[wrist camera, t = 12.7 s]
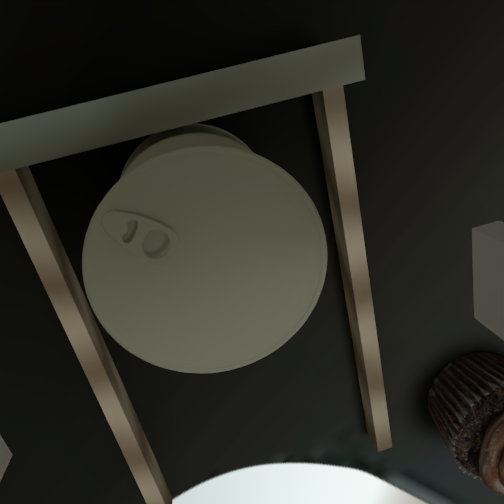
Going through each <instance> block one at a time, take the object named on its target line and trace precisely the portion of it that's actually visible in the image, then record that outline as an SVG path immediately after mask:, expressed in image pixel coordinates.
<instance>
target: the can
mask: <svg viewBox="0 0 504 504" xmlns="http://www.w3.org/2000/svg"><path fill="white" fill-rule="evenodd" d="M326 269H327V243H326V236H325V232H324V228H323V224H322V221H321V218H320V216H319V214H318V211H317V209H316V207H315V205H314V203H313V202H312V200H311V198H310V197H309V195H308V194H307V193H306V191H305V190H304V189H303V187H302V186H301V185H300V184H299V183H298V182H297V181H296V180H295V179H294V178H293V177H292V176H291V175H290V174H288V173H287V172H286V171H285V170H284V169H282V168H281V167H279V166H278V165H276V164H275V163H273V162H271V161H269V160H268V159H266V158H264V157H262V156H259V155H257V154H255V153H253V152H252V151H251V150H250V149H249V147H248V146H247V145H246V144H245V143H244V142H242V141H241V140H240V139H239V138H237V137H236V136H234V135H233V134H231V133H229V132H227V131H225V130H223V129H220V128H218V127H214V126H211V125H206V124H197V123H193V124H189V125H185V126H181V127H177V128H174V129H170V130H166V131H162V132H158V133H155V134H153V135H151V136H150V137H148V138H147V139H146V140H144V141H143V142H142V143H141V144H140V145H139V146H138V147H137V148H136V149H135V150H134V152H133V153H132V154H131V156H130V157H129V159H128V161H127V162H126V164H125V166H124V169H123V171H122V174H121V177H120V180H119V181H118V182H117V183H116V184H115V185H114V186H113V187H112V188H111V189H110V190H109V192H108V193H107V194H106V195H105V197H104V198H103V200H102V201H101V202H100V204H99V205H98V207H97V209H96V211H95V213H94V214H93V217H92V219H91V221H90V224H89V227H88V230H87V233H86V236H85V241H84V246H83V253H82V274H83V280H84V286H85V290H86V293H87V297H88V299H89V302H90V304H91V307H92V309H93V311H94V313H95V315H96V316H97V318H98V320H99V321H100V323H101V324H102V325H103V327H104V328H105V329H106V331H107V332H108V333H109V334H110V335H111V336H112V337H113V338H114V339H115V340H116V341H117V342H118V343H119V344H120V345H121V346H122V347H124V348H125V349H126V350H128V351H129V352H131V353H132V354H134V355H136V356H137V357H139V358H141V359H142V360H145V361H147V362H149V363H151V364H154V365H156V366H159V367H162V368H165V369H170V370H174V371H179V372H187V373H215V372H223V371H228V370H232V369H236V368H239V367H242V366H245V365H248V364H251V363H253V362H255V361H257V360H259V359H261V358H263V357H265V356H267V355H269V354H270V353H272V352H273V351H275V350H276V349H278V348H279V347H280V346H282V345H283V344H284V343H286V342H287V341H288V340H289V339H290V338H291V337H292V336H293V335H294V334H295V333H296V332H297V331H298V330H299V329H300V327H301V326H302V325H303V324H304V323H305V321H306V320H307V318H308V317H309V315H310V314H311V312H312V310H313V308H314V307H315V305H316V303H317V300H318V298H319V296H320V293H321V290H322V287H323V284H324V280H325V275H326Z"/></svg>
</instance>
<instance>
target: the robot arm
mask: <svg viewBox="0 0 504 504" xmlns="http://www.w3.org/2000/svg"><path fill="white" fill-rule="evenodd" d="M472 253H473V291H474V318H475V319H477V320H478V321H479V322H481V323H482V324H483V325H484V326H486V327H487V328H488V329H490V330H491V331H492V332H494V333H495V334H496V335H497V336H499V337H500V338H501V339H503V340H504V222H501V221H496V222H493V223H489V224H485V225H482V226H478V227H475V228H472ZM11 457H12V453H11V452H10V450H9V448H8V447H7V445H6V443H5V442H4V440H3V439H2V437H1V435H0V481H1V479H2V476H3V474H4V472H5V470H6V468H7V466H8V463H9V461H10V459H11Z"/></svg>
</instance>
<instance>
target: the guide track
mask: <svg viewBox="0 0 504 504" xmlns="http://www.w3.org/2000/svg"><path fill="white" fill-rule="evenodd" d="M361 80H365V73H364V65H363V56H362V48H361V39H360V35H357V36H353V37H349V38H345V39H341V40H337V41H333V42H329V43H325V44H321V45H317V46H313V47H309V48H304V49H300V50H296V51H292V52H288V53H284V54H280V55H276V56H272V57H268V58H264V59H260V60H256V61H252V62H248V63H244V64H239V65H235V66H231V67H227V68H223V69H219V70H215V71H211V72H207V73H203V74H199V75H195V76H191V77H187V78H183V79H179V80H174V81H170V82H166V83H162V84H158V85H154V86H150V87H146V88H142V89H138V90H134V91H130V92H126V93H122V94H118V95H114V96H110V97H105V98H101V99H97V100H93V101H89V102H85V103H81V104H77V105H73V106H69V107H65V108H61V109H57V110H53V111H49V112H45V113H40V114H36V115H32V116H28V117H24V118H20V119H16V120H12V121H8V122H4V123H0V194H1V196H2V198H3V200H4V202H5V205H6V207H7V209H8V211H9V213H10V215H11V217H12V219H13V221H14V224H15V226H16V228H17V230H18V232H19V234H20V236H21V238H22V241H23V243H24V245H25V247H26V249H27V251H28V253H29V255H30V257H31V260H32V262H33V264H34V266H35V268H36V270H37V272H38V274H39V277H40V279H41V281H42V283H43V285H44V287H45V289H46V291H47V293H48V296H49V298H50V300H51V302H52V304H53V306H54V308H55V310H56V313H57V315H58V317H59V319H60V321H61V323H62V325H63V327H64V330H65V332H66V334H67V336H68V338H69V340H70V342H71V344H72V346H73V349H74V351H75V353H76V355H77V357H78V359H79V361H80V363H81V366H82V368H83V370H84V372H85V374H86V376H87V378H88V380H89V382H90V385H91V387H92V389H93V391H94V393H95V395H96V397H97V399H98V402H99V404H100V406H101V408H102V410H103V412H104V414H105V416H106V418H107V421H108V423H109V425H110V427H111V429H112V431H113V433H114V435H115V438H116V440H117V442H118V444H119V446H120V448H121V450H122V452H123V455H124V457H125V459H126V461H127V463H128V465H129V467H130V469H131V471H132V474H133V476H134V478H135V480H136V482H137V484H138V486H139V488H140V491H141V493H142V495H143V497H144V499H145V501H146V503H147V504H172V496H171V494H170V491H169V489H168V487H167V484H166V482H165V480H164V477H163V475H162V473H161V471H160V468H159V466H158V464H157V461H156V459H155V457H154V454H153V452H152V450H151V448H150V445H149V443H148V441H147V438H146V436H145V434H144V431H143V429H142V427H141V425H140V422H139V420H138V418H137V415H136V413H135V411H134V408H133V406H132V404H131V402H130V399H129V397H128V395H127V392H126V390H125V388H124V385H123V383H122V381H121V379H120V376H119V374H118V372H117V369H116V367H115V365H114V362H113V360H112V358H111V356H110V353H109V351H108V349H107V346H106V344H105V342H104V339H103V337H102V335H101V333H100V330H99V328H98V326H97V323H96V321H95V319H94V316H93V314H92V312H91V310H90V307H89V305H88V303H87V300H86V298H85V296H84V293H83V291H82V289H81V287H80V284H79V282H78V280H77V277H76V275H75V273H74V270H73V268H72V266H71V264H70V261H69V259H68V257H67V254H66V252H65V250H64V247H63V245H62V243H61V241H60V238H59V236H58V234H57V231H56V229H55V227H54V224H53V222H52V220H51V218H50V215H49V213H48V211H47V208H46V206H45V204H44V201H43V199H42V197H41V194H40V192H39V190H38V188H37V185H36V183H35V181H34V178H33V176H32V174H31V171H30V169H29V167H28V166H29V165H33V164H37V163H41V162H44V161H48V160H52V159H56V158H60V157H64V156H68V155H72V154H76V153H80V152H84V151H88V150H91V149H95V148H99V147H103V146H107V145H111V144H115V143H119V142H123V141H127V140H131V139H134V138H138V137H142V136H146V135H150V134H154V133H158V132H162V131H166V130H170V129H174V128H177V127H181V126H185V125H189V124H193V123H197V122H201V121H205V120H209V119H213V118H217V117H221V116H224V115H228V114H232V113H236V112H240V111H244V110H248V109H252V108H256V107H260V106H264V105H267V104H271V103H275V102H279V101H283V100H287V99H291V98H295V97H299V96H303V95H307V94H310V93H312V97H313V103H314V109H315V116H316V122H317V128H318V134H319V140H320V146H321V152H322V158H323V164H324V170H325V177H326V183H327V189H328V195H329V201H330V207H331V213H332V219H333V225H334V231H335V238H336V244H337V250H338V256H339V262H340V268H341V274H342V280H343V286H344V292H345V299H346V305H347V311H348V317H349V323H350V329H351V335H352V341H353V347H354V353H355V360H356V366H357V372H358V378H359V384H360V390H361V396H362V402H363V408H364V414H365V421H366V427H367V433H368V435H369V437H370V438H371V440H372V442H373V443H374V445H375V447H376V449H377V450H378V452H379V451H382V450H385V449H388V448H391V447H392V442H391V435H390V427H389V420H388V413H387V405H386V398H385V391H384V383H383V376H382V369H381V361H380V354H379V347H378V339H377V332H376V325H375V317H374V310H373V303H372V295H371V288H370V281H369V273H368V266H367V259H366V251H365V244H364V237H363V229H362V222H361V215H360V207H359V200H358V193H357V185H356V178H355V171H354V163H353V156H352V149H351V141H350V134H349V127H348V119H347V112H346V105H345V97H344V90H343V85H346V84H350V83H354V82H357V81H361Z"/></svg>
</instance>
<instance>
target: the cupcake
mask: <svg viewBox="0 0 504 504" xmlns="http://www.w3.org/2000/svg"><path fill="white" fill-rule="evenodd" d="M427 399H428V410H429V412H430V414H431V416H432V418H433V420H434V422H435V424H436V426H437V428H438V430H439V432H440V434H441V436H442V437H443V439H444V441H445V443H446V445H447V447H448V449H449V450H450V452H451V454H452V456H453V458H454V460H455V462H456V464H457V466H458V468H460V469H461V470H462V472H463V473H465V472H466V473H467V475H468V476H469V475H472V476H473V478H477V477H478V476H479V478H480V479H481V480H483V482H484V484H485V485H487V486H488V487H489V488H491V489H492V490H494V491H496V492H498V493H500V494H504V356H502V355H498V354H494V353H488V352H483V351H479V352H472V353H469V354H467V355H464V356H461V357H459V358H457V359H455V360H454V361H453V362H451V363H450V364H448V365H447V366H446V367H445V368H444V369H443V370H442V371H441V372H440V373H439V375H438V376H437V377H436V378H435V379H434V381H433V385H432V386H431V388H430V390H429V393H428V398H427Z"/></svg>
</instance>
